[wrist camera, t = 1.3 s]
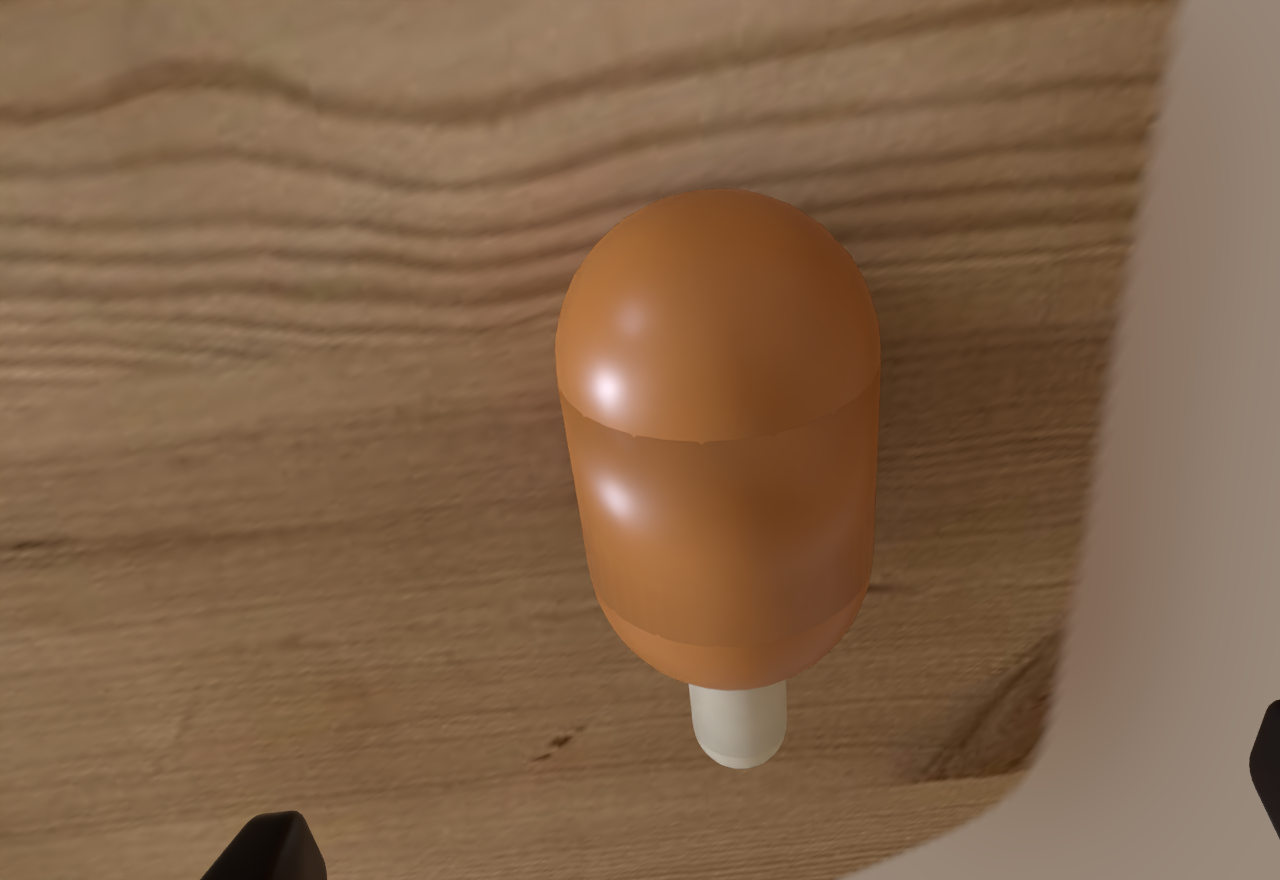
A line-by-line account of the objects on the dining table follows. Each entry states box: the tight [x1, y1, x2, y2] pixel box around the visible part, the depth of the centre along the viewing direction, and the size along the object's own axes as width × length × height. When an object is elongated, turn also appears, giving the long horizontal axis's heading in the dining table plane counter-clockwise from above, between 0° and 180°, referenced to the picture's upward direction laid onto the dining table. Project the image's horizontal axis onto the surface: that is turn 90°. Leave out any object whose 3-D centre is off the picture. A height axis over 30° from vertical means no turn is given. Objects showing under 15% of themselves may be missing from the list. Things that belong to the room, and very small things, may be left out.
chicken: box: [555, 189, 881, 769], centre depth 14 cm, size 10×4×4 cm, turn 6°
